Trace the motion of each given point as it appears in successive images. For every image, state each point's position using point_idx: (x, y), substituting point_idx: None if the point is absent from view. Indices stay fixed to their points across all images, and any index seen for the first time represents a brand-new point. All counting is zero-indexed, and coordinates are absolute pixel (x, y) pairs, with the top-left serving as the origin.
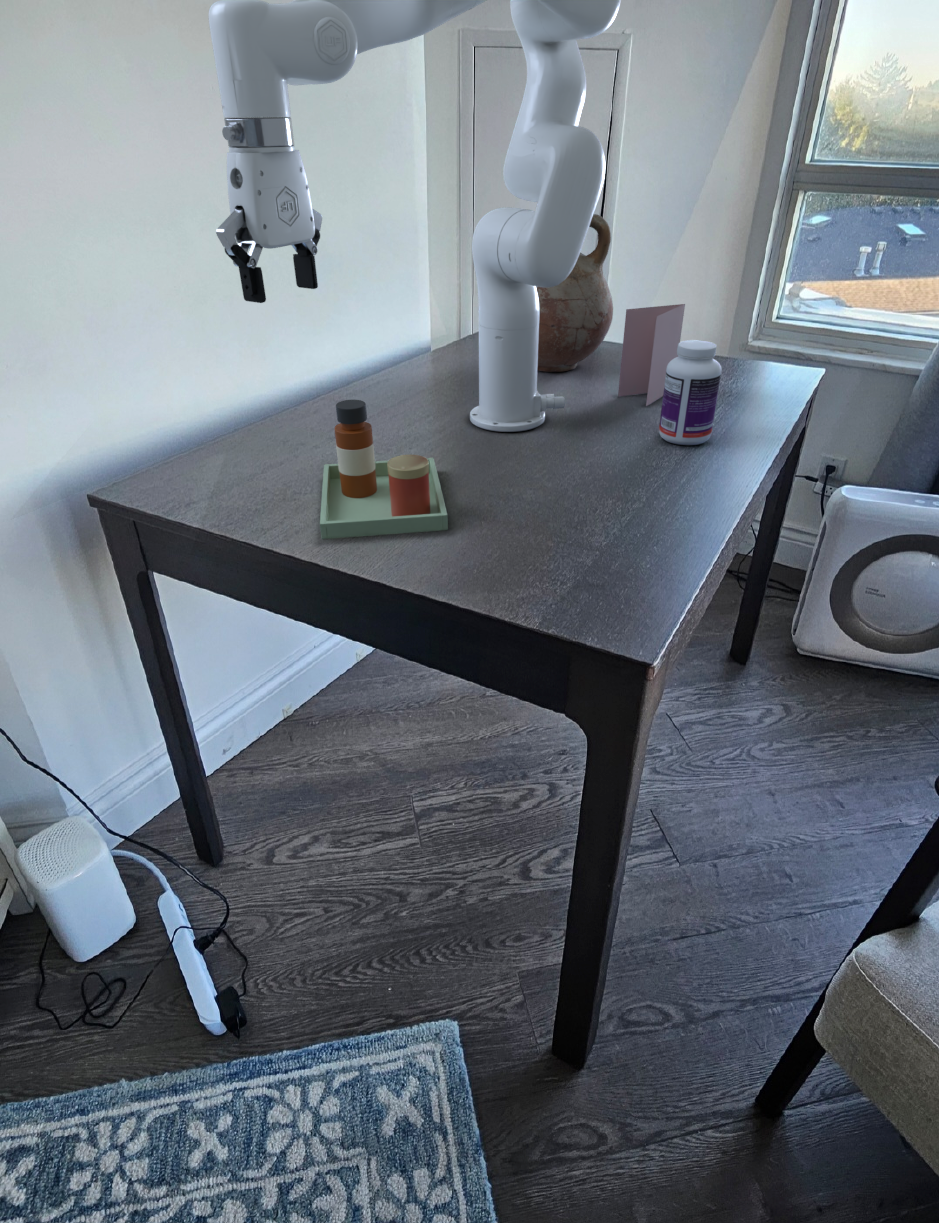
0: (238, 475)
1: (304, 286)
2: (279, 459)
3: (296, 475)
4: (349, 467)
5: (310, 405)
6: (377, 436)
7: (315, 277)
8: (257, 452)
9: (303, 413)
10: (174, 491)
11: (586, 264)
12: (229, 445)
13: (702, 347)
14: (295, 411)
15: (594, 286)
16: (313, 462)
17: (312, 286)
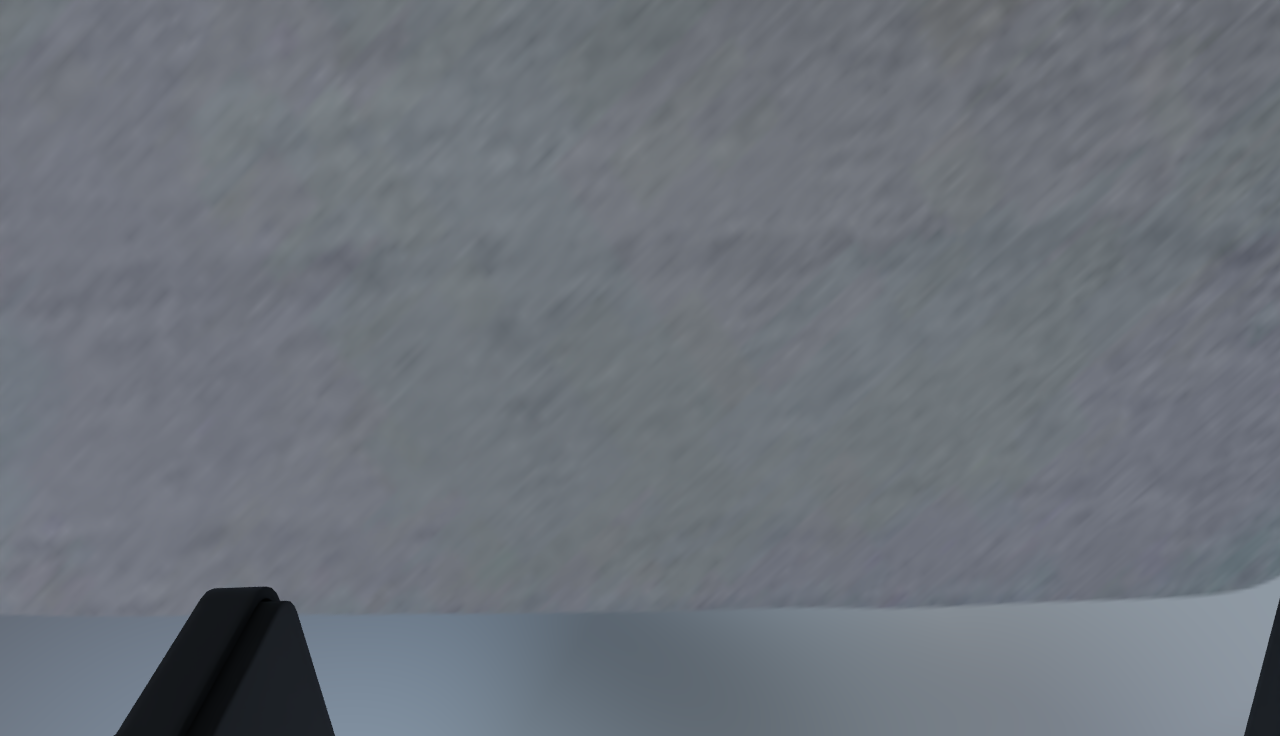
0: (915, 308)
1: (323, 720)
2: (689, 291)
3: (786, 92)
4: None
5: (174, 604)
6: (193, 104)
7: (181, 679)
8: (685, 419)
9: (256, 566)
10: (1161, 395)
11: None
12: (695, 554)
13: None
14: None
15: None
16: (626, 137)
17: (286, 618)
